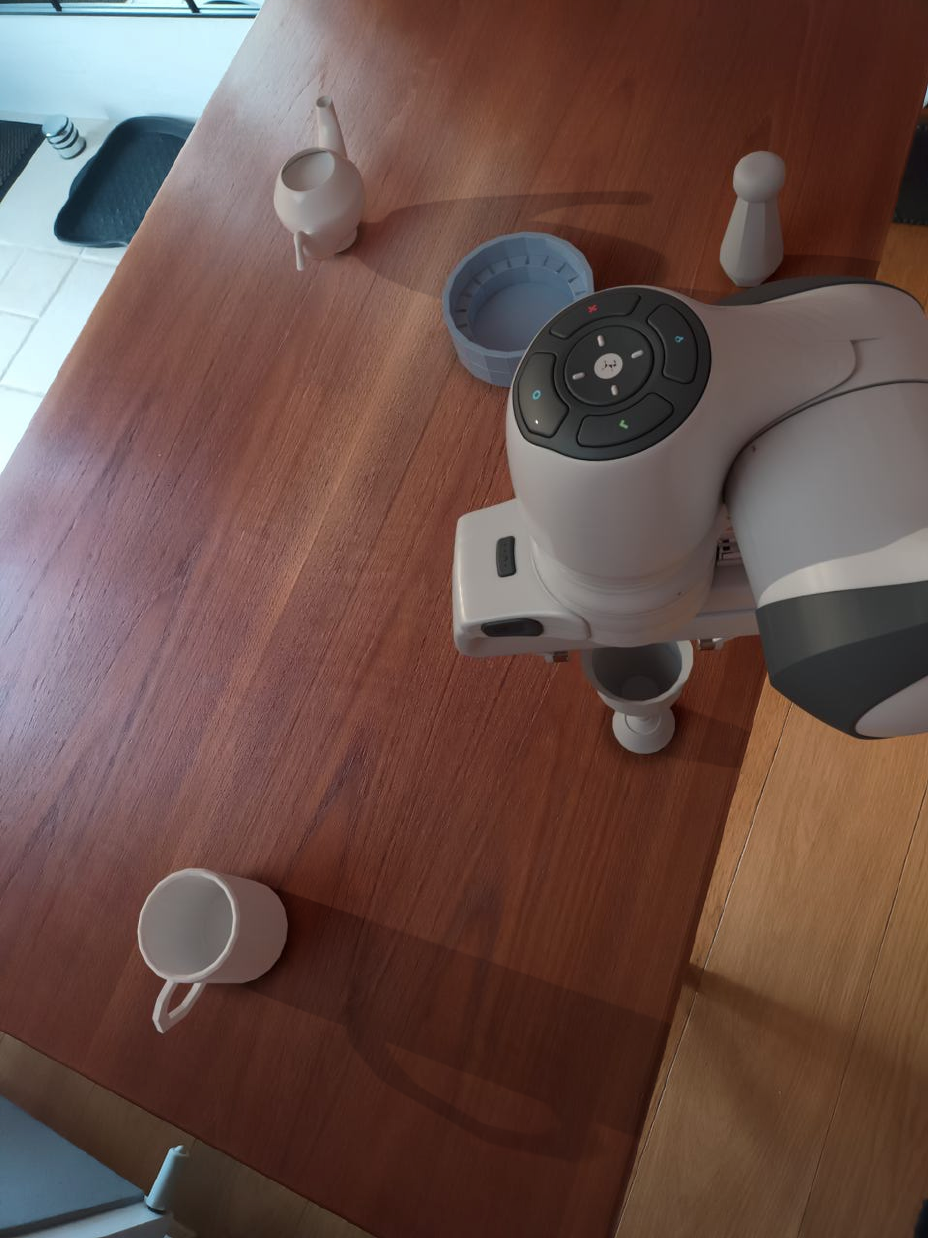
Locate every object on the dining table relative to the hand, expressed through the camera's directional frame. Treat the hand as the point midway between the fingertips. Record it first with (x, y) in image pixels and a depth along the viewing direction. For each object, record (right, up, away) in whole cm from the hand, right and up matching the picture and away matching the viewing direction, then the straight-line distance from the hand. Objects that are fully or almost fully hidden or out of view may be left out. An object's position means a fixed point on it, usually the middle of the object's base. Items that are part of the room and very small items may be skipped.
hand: (632, 645), depth 60 cm
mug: (-30, -26, +19) cm, 44 cm away
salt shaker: (+17, +35, +32) cm, 50 cm away
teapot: (-24, +44, +44) cm, 67 cm away
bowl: (-5, +31, +35) cm, 46 cm away
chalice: (+4, -7, +18) cm, 20 cm away
